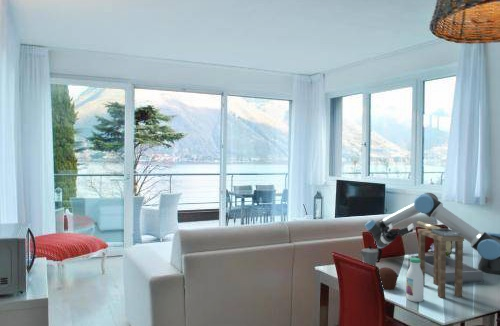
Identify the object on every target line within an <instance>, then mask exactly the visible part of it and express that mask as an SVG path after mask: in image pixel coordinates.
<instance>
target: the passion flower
mask: <svg viewBox="0 0 500 326" xmlns="http://www.w3.org/2000/svg"><path fill="white" fill-rule="evenodd" d="M429 247H430V249H427V252H429V253H430V252H432V254H431V255H434V242H433V243H430V246H429ZM446 256H447V257H450V253H448V251H447V248H446Z"/></svg>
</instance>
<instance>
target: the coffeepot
mask: <svg viewBox="0 0 500 326" xmlns="http://www.w3.org/2000/svg"><path fill="white" fill-rule="evenodd" d="M360 254H361V257H362V262H363V263H364V262H366V263H368V264H371V265H374V266H376V267H377V264H378V263H380V261H381V257H382V255H383V250H382V248H378V247H377V248H372V245H371V244H370V245H368V248H362V249H361V251H360Z"/></svg>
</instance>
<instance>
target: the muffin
mask: <svg viewBox="0 0 500 326" xmlns="http://www.w3.org/2000/svg"><path fill="white" fill-rule="evenodd" d="M378 270H379V273H380V277H381V281H382V285H383V288H384V289H383V290H387V291H393V290H395V289H396V286H397V282H398V281H397V280H398V278H399V275H398V274H397V272H396V271H395V270H394V269H393V268H390V267H380V268H378Z"/></svg>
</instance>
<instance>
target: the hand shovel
mask: <svg viewBox="0 0 500 326" xmlns="http://www.w3.org/2000/svg"><path fill="white" fill-rule="evenodd" d="M416 225H417V226H418V227H420V228H422V229H429V230H431V233H433V234H436V235H439V236H442V237H460V232H457V231H453V230H451V229H450V228H442V227H440V226H437V225H434V224H431V223H427V222H424V221H421V220H418V221H416Z"/></svg>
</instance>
